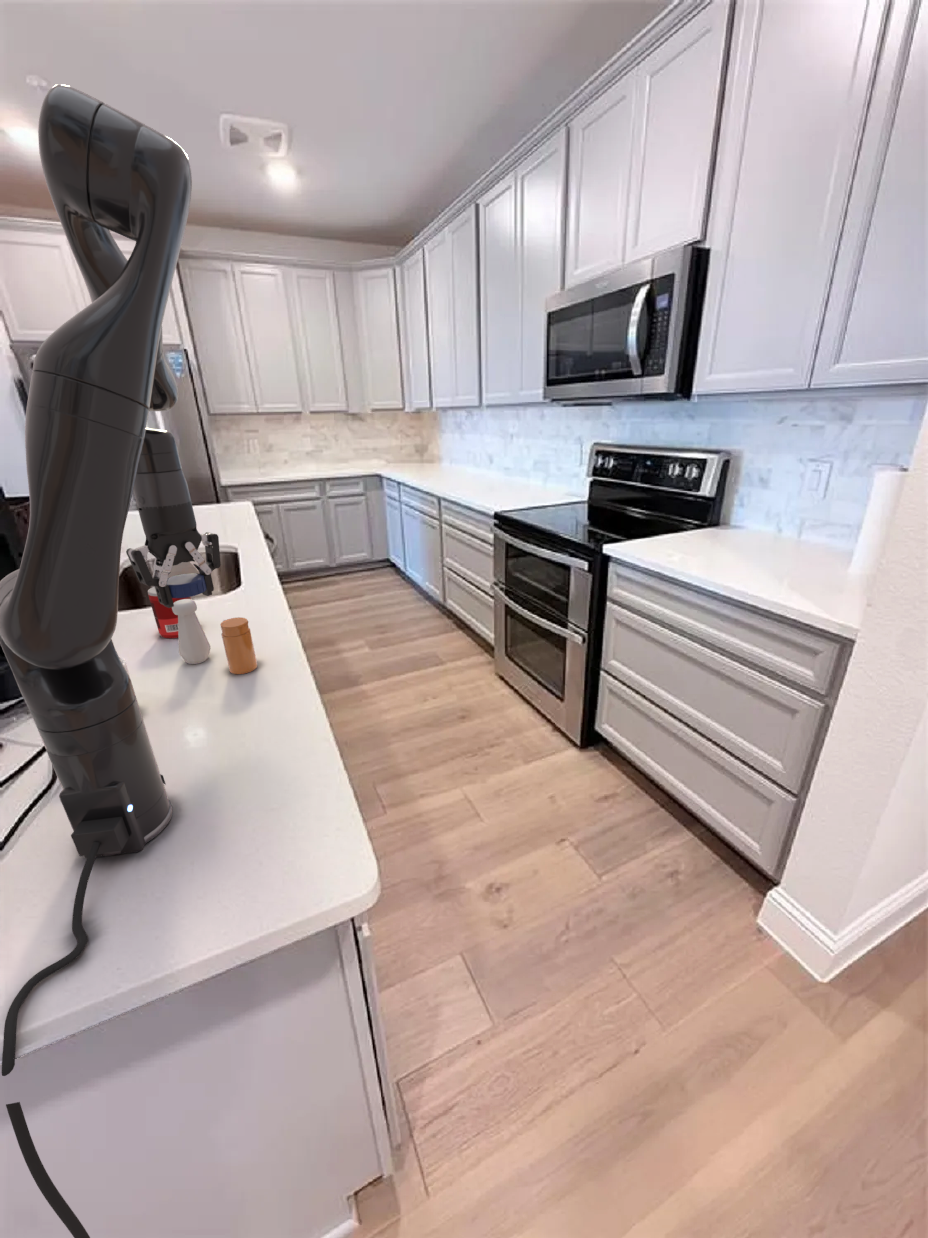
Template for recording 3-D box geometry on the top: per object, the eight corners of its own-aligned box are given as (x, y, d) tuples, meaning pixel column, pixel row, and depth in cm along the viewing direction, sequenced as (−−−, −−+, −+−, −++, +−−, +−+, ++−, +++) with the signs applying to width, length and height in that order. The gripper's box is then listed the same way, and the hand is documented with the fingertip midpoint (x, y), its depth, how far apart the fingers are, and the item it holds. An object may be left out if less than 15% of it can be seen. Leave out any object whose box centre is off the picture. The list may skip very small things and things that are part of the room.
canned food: (204, 629, 120) (194, 585, 115) (171, 641, 113) (159, 595, 109) (186, 622, 123) (175, 579, 119) (153, 634, 117) (140, 589, 113)
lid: (195, 583, 89) (192, 570, 88) (213, 590, 86) (210, 577, 85) (159, 593, 85) (155, 580, 84) (177, 601, 82) (174, 587, 81)
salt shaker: (200, 667, 102) (185, 607, 97) (175, 665, 103) (159, 605, 98) (218, 654, 107) (205, 596, 102) (194, 652, 108) (180, 595, 103)
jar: (256, 671, 100) (247, 625, 96) (228, 676, 98) (217, 629, 94) (258, 660, 104) (249, 615, 100) (230, 664, 103) (220, 619, 99)
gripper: (196, 492, 87) (216, 585, 93) (102, 505, 76) (133, 609, 83) (220, 495, 83) (239, 592, 89) (125, 510, 72) (155, 619, 79)
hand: (188, 600), depth 86 cm, fingers closed on lid, 6 cm apart
